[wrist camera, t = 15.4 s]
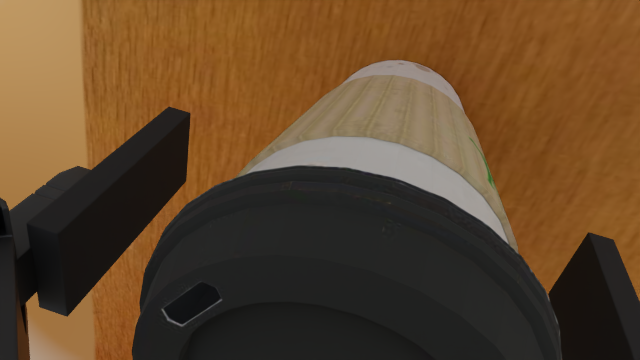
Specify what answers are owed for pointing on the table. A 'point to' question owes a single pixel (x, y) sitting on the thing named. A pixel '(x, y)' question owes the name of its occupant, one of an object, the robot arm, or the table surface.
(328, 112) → the coffee cup
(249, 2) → the table surface
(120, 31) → the table surface
